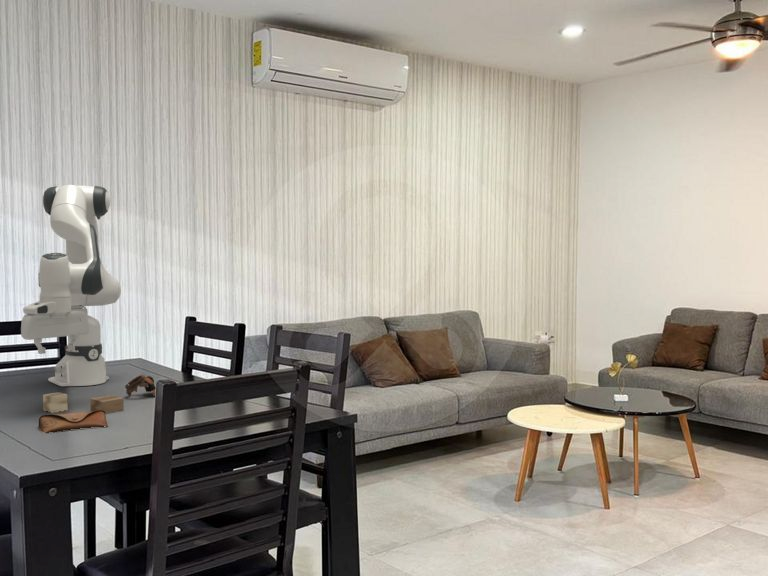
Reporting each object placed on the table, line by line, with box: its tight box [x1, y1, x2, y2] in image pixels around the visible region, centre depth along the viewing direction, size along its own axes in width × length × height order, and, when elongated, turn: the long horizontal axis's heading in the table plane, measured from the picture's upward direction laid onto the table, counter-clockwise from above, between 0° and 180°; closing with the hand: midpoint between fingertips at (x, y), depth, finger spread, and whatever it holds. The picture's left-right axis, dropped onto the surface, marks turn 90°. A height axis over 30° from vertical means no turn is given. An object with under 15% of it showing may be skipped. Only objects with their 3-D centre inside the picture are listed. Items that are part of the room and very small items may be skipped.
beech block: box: [42, 392, 69, 414], centre depth 233 cm, size 5×5×5 cm
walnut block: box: [89, 394, 125, 414], centre depth 234 cm, size 7×7×4 cm
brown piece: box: [124, 374, 157, 398], centre depth 256 cm, size 12×10×8 cm
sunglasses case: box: [38, 410, 109, 434], centre depth 213 cm, size 18×7×7 cm, turn 120°
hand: (56, 351), depth 232 cm, fingers open, 8 cm apart
